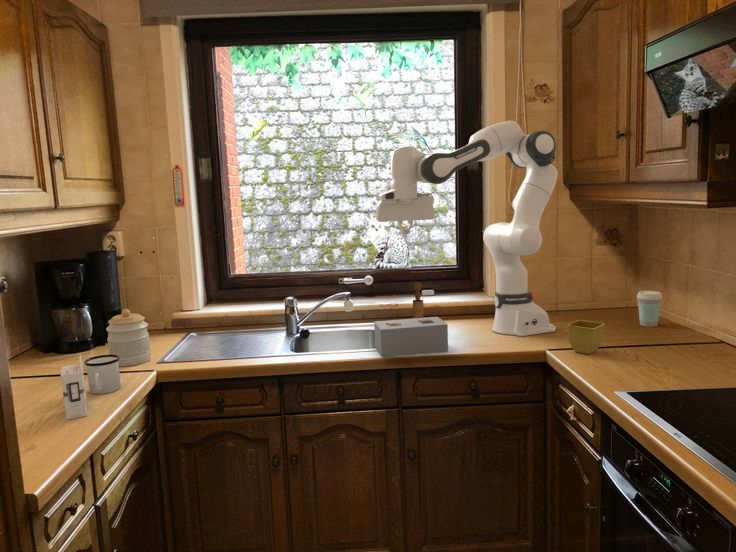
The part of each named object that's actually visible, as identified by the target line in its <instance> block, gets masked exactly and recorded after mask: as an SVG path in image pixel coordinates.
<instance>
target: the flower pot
mask: <svg viewBox="0 0 736 552" xmlns="http://www.w3.org/2000/svg"><path fill="white" fill-rule="evenodd" d="M566 326H567V334H568V341H569V343H570V347H571V348H572V349H573V351H574V352H576V353H579V354H585V355H586V354H587V355H591V354H592V353H595V352H597V351H598V349H599V348H600V346H601V345H602V341H603V338H604V334H605V333H604V332H605V329H606V328H605V326H606V323H605V322H600V321H591V320H584V319H577V320H575V321H573V322H570V323H568V324H567V325H566Z"/></svg>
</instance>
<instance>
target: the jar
mask: <svg viewBox="0 0 736 552" xmlns="http://www.w3.org/2000/svg"><path fill="white" fill-rule="evenodd" d="M145 318H146V317H145V316H143V315H141V314H139V313H131V311H130V309H128V308H124V309H123V310H122V311H121V314H117V315H115V316H113V317H111V319H109V320H108V321H107V323H108V324H109V325H108V326H107V327H106V329H105V331H107V334H108V335H107V336H108V337H107V344H108V345H107V346H108V355H118V356H120V360H119V361H118V364H119V367H132V366H136V365H140V364H145V363H146V362H148V361H150V360H151V355H152V353H151V347H150V346H151V345H150V337H149V336H150V333H149V332H148V326H149V323H147V322H146V321H144V320H145Z"/></svg>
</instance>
